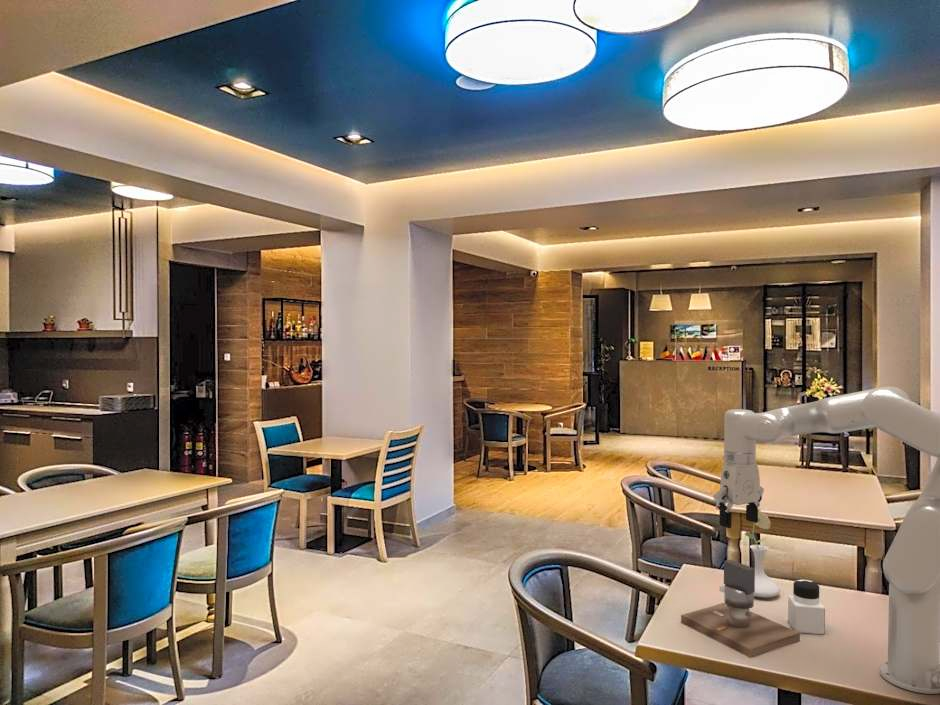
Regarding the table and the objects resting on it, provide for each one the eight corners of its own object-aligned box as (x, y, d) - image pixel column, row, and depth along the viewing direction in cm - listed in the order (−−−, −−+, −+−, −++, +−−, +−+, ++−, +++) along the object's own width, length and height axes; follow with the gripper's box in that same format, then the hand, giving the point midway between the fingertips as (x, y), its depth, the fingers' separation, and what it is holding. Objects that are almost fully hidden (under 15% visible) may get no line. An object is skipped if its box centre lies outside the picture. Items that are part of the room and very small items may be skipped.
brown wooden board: (799, 640, 166) (800, 613, 166) (750, 657, 158) (750, 628, 158) (728, 608, 186) (728, 583, 186) (681, 622, 177) (681, 596, 177)
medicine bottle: (825, 635, 169) (825, 588, 169) (795, 632, 171) (795, 586, 171) (816, 623, 176) (816, 578, 176) (787, 620, 178) (787, 576, 178)
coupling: (760, 605, 170) (760, 567, 170) (741, 611, 167) (742, 571, 166) (730, 593, 178) (730, 556, 178) (711, 598, 175) (711, 560, 175)
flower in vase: (788, 600, 191) (788, 514, 190) (749, 602, 190) (750, 515, 190) (764, 583, 204) (765, 502, 203) (728, 584, 203) (729, 503, 203)
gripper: (727, 463, 163) (727, 532, 164) (774, 457, 171) (774, 523, 172) (704, 458, 170) (703, 525, 170) (750, 452, 178) (749, 516, 179)
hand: (738, 524), depth 171 cm, fingers open, 9 cm apart
